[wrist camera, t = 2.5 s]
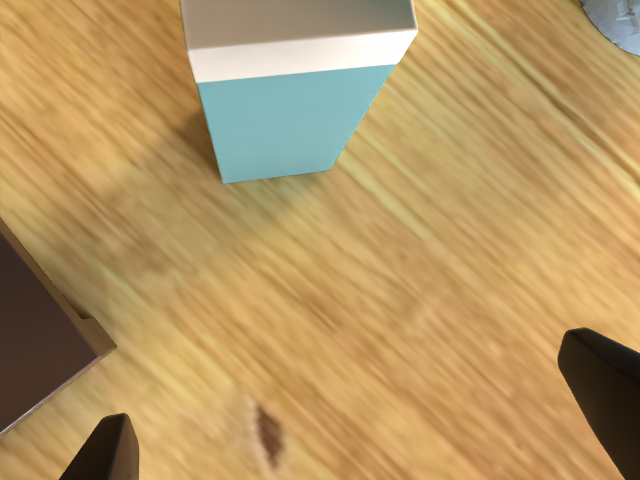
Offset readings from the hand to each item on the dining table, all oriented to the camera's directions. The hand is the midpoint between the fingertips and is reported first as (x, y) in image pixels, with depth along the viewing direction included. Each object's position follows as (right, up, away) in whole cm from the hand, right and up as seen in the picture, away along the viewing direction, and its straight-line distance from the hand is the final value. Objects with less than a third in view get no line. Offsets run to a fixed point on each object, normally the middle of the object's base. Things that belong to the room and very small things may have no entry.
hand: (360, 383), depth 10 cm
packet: (-3, +8, +13) cm, 16 cm away
